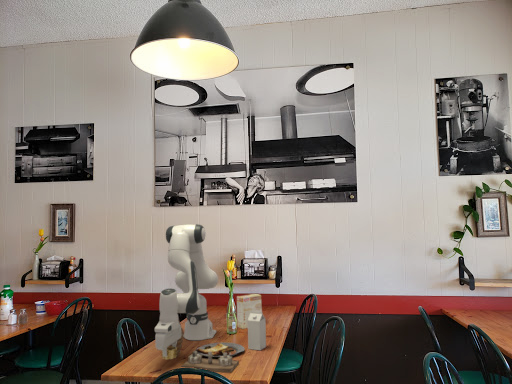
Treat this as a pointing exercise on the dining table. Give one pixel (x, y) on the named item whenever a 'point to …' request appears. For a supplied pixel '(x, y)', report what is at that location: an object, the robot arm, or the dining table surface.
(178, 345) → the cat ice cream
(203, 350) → the food plate
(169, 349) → the brass gear
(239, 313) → the coffeecake box
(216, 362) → the gear board
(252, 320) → the milk carton
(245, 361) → the dining table surface
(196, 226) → the robot arm
